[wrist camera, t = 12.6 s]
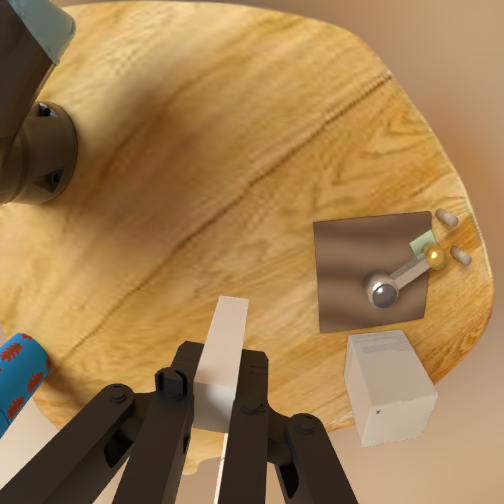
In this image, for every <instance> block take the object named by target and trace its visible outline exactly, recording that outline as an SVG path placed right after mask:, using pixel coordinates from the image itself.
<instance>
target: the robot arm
mask: <svg viewBox="0 0 504 504" xmlns="http://www.w3.org/2000/svg"><path fill="white" fill-rule="evenodd" d="M75 33H76V23H75V20H74V19H73V18H72V17H71V16H70V15H69V14H67V13H66V12H65V11H64V10H62V9H61V8H59V7H58V6H57V5H55V4H54V3H53V2H51V1H50V0H0V206H1V205H3V204H5V203H8V202H13V203H21V204H30V205H35V204H41V203H44V202H46V201H49V200H51V199H53V198H55V197H57V196H58V195H59V194H60V193H61V192H62V191H63V190H64V189H65V188H66V186H67V185H68V183H69V181H70V179H71V177H72V175H73V172H74V169H75V165H76V160H77V138H76V133H75V129H74V126H73V123H72V121H71V119H70V117H69V116H68V114H67V113H66V112H65V111H64V110H63V109H62V108H61V107H60V106H58V105H56V104H54V103H51V102H39V101H38V102H35V100H36V99H37V97H38V95H39V93H40V92H41V90H42V88H43V86H44V85H45V83H46V81H47V80H48V78H49V77H50V75H51V73H52V72H53V70H54V69H55V67H56V66H58V65H59V63H60V58H61V57H62V55H63V53H64V52H65V50H66V48H67V47H68V45H69V44H70V42H71V41H72V39H73V37H74V35H75ZM248 303H249V299H243V298H236V297H229V296H222V295H220V297H219V300H218V303H217V307H216V310H215V313H214V316H213V319H212V323H211V326H210V329H209V332H208V335H207V339H206V342H205V344H202V343H196V342H190V341H185V342H184V343H183V344H181V345H180V346H179V348H178V350H177V352H176V356H175V357H174V360H173V362H172V365H171V367H167V368H163V369H161V370H159V371H158V372H157V373H156V374H155V385H156V391H153V392H150V393H134V392H133V391H132V389H131V388H130V387H128V386H127V385H124V384H111V385H108V386H106V387H105V388H103V389H102V390H101V391H100V392H99V393H98V394H97V395H96V396H95V397H94V398H93V399H92V400H91V401H90V402H89V403H88V404H87V405H86V406H85V407H84V408H83V409H82V410H81V411H80V412H79V413H78V414H77V415H76V416H75V417H74V418H73V419H72V420H71V421H70V422H69V423H68V424H67V425H66V426H64V427H63V428H62V429H61V430H60V431H59V432H58V433H57V434H56V435H55V436H54V438H52V440H50V442H48V443H47V444H46V445H45V446H44V447H43V448H42V449H41V450H40V451H39V452H38V453H37V454H36V455H35V456H34V457H33V458H32V459H31V460H30V461H29V462H28V463H27V464H26V465H25V466H24V467H23V468H22V469H21V470H20V471H19V472H18V473H17V474H16V475H15V476H14V477H13V478H12V479H11V480H10V481H9V482H8V483H7V484H6V485H5V486H4V487H3V488H2V489H1V490H0V504H92V503H93V502H94V501H95V500H96V498H97V497H98V496H99V495H100V493H101V492H102V490H104V488H105V487H106V486H107V484H108V483H109V482H110V481H111V479H112V478H113V477H114V476H115V474H116V473H117V472H118V470H119V469H120V468H121V466H122V465H123V464H124V463H125V461H126V460H127V459H128V458H129V459H128V462H127V465H126V467H125V470H124V472H123V475H122V478H121V481H120V483H119V486H118V488H117V491H116V494H115V496H114V499H113V502H112V504H175V499H176V495H177V491H178V487H179V483H180V479H181V475H182V471H183V467H184V463H185V459H186V455H187V451H188V447H189V443H190V439H191V427H192V424H193V428H198V429H203V430H209V431H215V432H222V433H228V438H227V445H226V451H225V458H224V464H223V471H222V477H221V484H220V490H219V497H218V503H217V504H265V496H266V474H267V462H270V463H273V464H274V466H275V469H276V473H277V476H278V480H279V483H280V486H281V490H282V493H283V496H284V500H285V503H286V504H358V502H357V500H356V497H355V495H354V493H353V490H352V488H351V486H350V484H349V481H348V479H347V477H346V475H345V473H344V471H343V468H342V466H341V464H340V461H339V459H338V457H337V455H336V453H335V450H334V448H333V446H332V444H331V441H330V440H329V437H328V435H327V433H326V430H325V428H324V426H323V424H322V422H321V421H320V420H319V419H318V418H317V417H315V416H314V415H311V414H308V413H299V414H295V415H293V416H292V417H291V418H290V417H287V416H284V415H281V414H279V413H277V412H275V411H274V410H273V409H272V408H271V407H270V406H269V404H268V400H267V394H268V361H269V360H268V358H267V356H266V354H265V353H264V352H261V351H253V350H246V349H242V345H243V338H244V331H245V324H246V317H247V310H248ZM129 456H130V457H129Z"/></svg>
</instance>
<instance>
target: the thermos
mask: <svg viewBox="0 0 504 504" xmlns="http://www.w3.org/2000/svg"><path fill="white" fill-rule="evenodd" d="M49 371H50V362H49V359H48V356H47V355H46V353H45V351H44V350H43V348H42V347H41V346H40V345H39V344H38V343H37V342H36V341H35V340H34V339H32V338H31V337H30V336H28V335H25V334H22V333H18V334H16V335H15V336H13V337H12V338H11V339H10V340H9V341H7V342H6V343H5V344H4V345H3V346H2V347H1V348H0V439H1V437H2V436H3V435H4V433H5V432H6V430H7V429H8V427H9V426H10V425H11V423H12V422H13V420H14V419H15V418H16V416H17V415H18V414H19V412H20V411H21V410H22V408H23V407H24V405H25V404H26V403H27V401H28V400H29V399H30V397H31V396H32V395H33V394H34V392H35V391H36V390H37V388H38V387H39V386H40V384H41V383H42V381H43V380H44V378H45V377H46V375H47V374H48V372H49Z"/></svg>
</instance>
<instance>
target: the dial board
mask: <svg viewBox="0 0 504 504" xmlns="http://www.w3.org/2000/svg"><path fill="white" fill-rule="evenodd" d="M435 215H436V217H437V218H438V219H440V220H441V221H443V222H445V223H446V224H448V225H450V226H451V227H455V226H456V225H457V224H458V218H457V217H456V216H454V215H452V214H450V213H448V212H446V211H444V210H442V209H438V210H437V211H436V213H435ZM313 226H314V239H315V252H316V267H317V283H318V302H319V324H320V334H322V333H330V332H338V331H345V330H353V329H360V328H367V327H373V326H380V325H386V324H392V323H398V322H404V321H410V320H415V319H421V318H423V317H424V309H425V301H426V292H427V282H428V271H429V269H427V270H426V271H425V272H423V273H422V274H421V275H419V276H418V277H416V278H415V279H413V280H412V281H411V282H409V283H408V284H406V285H405V286H403V287H402V288H400V289H399V295H398V298H397V300H396V301H395V303H394V304H393V305H392V306H390V307H388V308H386V309H377V308H375V307H373V306H372V305H371V303H370V301H369V299H368V297H367V296H366V294H365V292H364V289H363V283H364V280H365V278H366V277H367V276H368V275H369V274H370V273H372V272H374V271H377V270H381V271H385V272H386V273H387V274H388V275H391V274H392V273H394V272H395V271H397V270H398V269H400V268H401V267H402V266H404V265H405V264H407V263H408V262H410V261H411V260H412V259H414V258H415V257H417V256H418V255H419V254H420V251H421V248H422V247H423V245H424V244H426V243H428V242H432V243H434V244H435V245H436V246H437V243H436V241H435V238H434V236H433V233H432V231H431V212H429V211H426V212H414V213H403V214H392V215H381V216H370V217H360V218H349V219H339V220H329V221H320V222H313ZM450 253H451V255H453V256H454V257H455V258H457V259H458V260H459V261H460V262H462V263H463V264H464V265H466V266H467V265H469V264H470V263H471V260H472V259H471V257H470V256H469V255H468V254H466V253H465V252H464V251H462V250H461V249H459V248H458V247H457V246H453V247H452V248H451V250H450Z"/></svg>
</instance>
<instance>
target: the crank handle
mask: <svg viewBox="0 0 504 504" xmlns="http://www.w3.org/2000/svg"><path fill="white" fill-rule="evenodd" d="M446 262H447V254H446V253H445V252H444V251H443V250H442V249H440V248H439V247H438V246H436V245H435V244H434V243H432V242H428V243H426V244H424V245H423V247H422V248H421V251H420V254H419V255H418V256H417V257H415V258H414V259H412V260H411V261H410V262H408V263H407V264H405V265H404V266H402V267H401V268H400V269H398V270H397V271H395V272H394V273H392V274H391V275H388V274H387V273H386V272H385V271H381V270H377V271H374V272H372V273H370V274H369V275H368V276H367V277H366V278H365V280H364V283H363V289H364V292H365V294H366V296H367V297H368V299H369V301H370V303H371V305H372V306H373V307H375V308H377V309H386V308H388V307H390V306H392V305H393V304H394V303H395V301H396V300H397V298H398V295H399V289H400V288H402V287H403V286H405V285H406V284H408V283H409V282H411V281H412V280H413V279H415V278H416V277H418V276H419V275H421V274H422V273H423V272H425V271H426V270H427V269H429V268H430V267H432V268H433V269H434V270H440V269H442V268H443V267H444V266H445V264H446Z"/></svg>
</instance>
